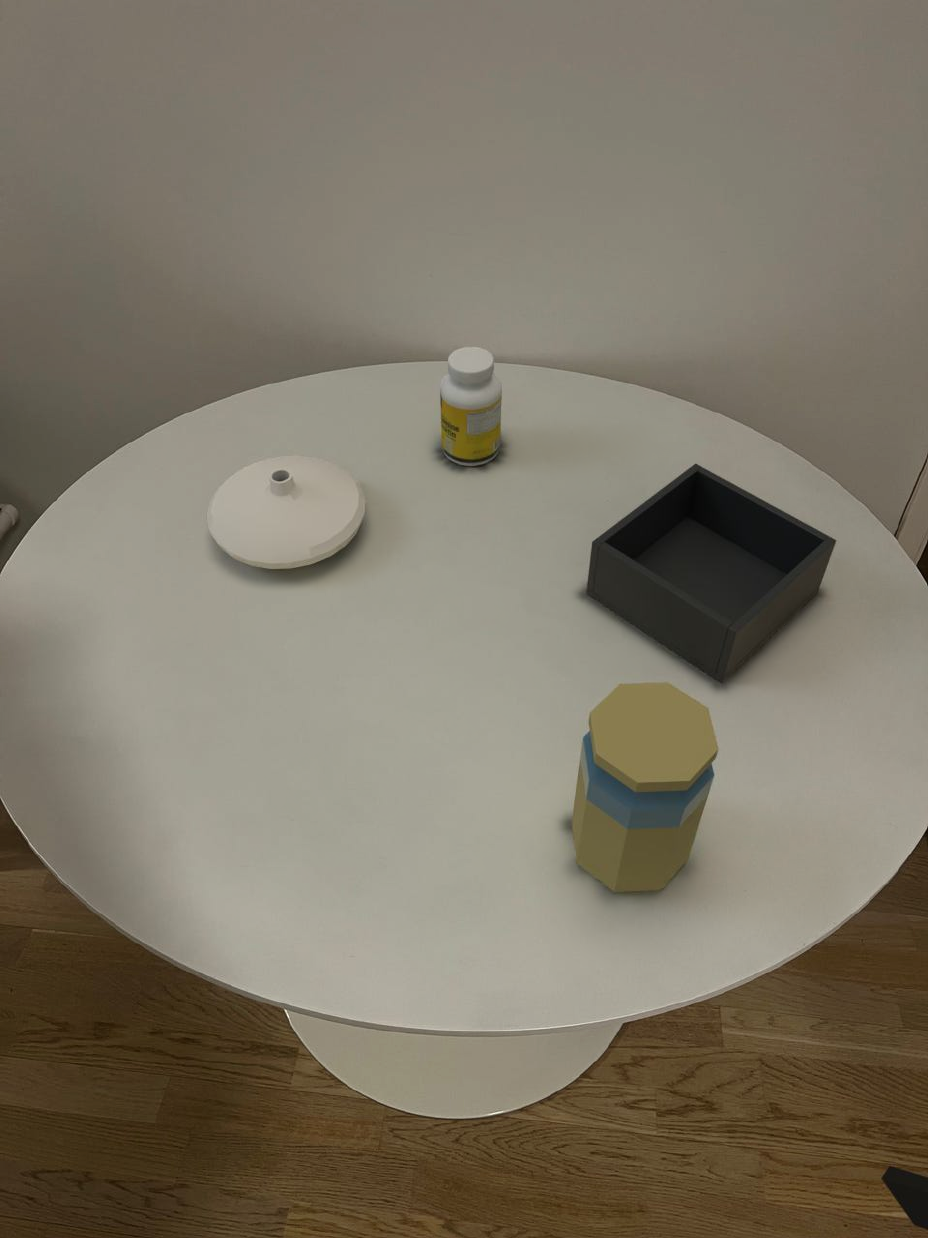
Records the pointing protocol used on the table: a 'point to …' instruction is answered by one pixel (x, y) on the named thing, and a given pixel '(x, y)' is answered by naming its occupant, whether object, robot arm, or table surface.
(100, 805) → the table surface
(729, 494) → the bin
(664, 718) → the jar
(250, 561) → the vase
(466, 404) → the pill bottle
